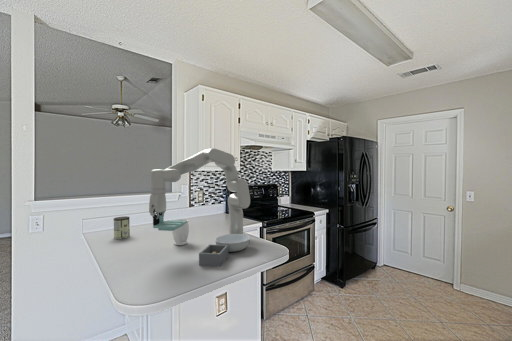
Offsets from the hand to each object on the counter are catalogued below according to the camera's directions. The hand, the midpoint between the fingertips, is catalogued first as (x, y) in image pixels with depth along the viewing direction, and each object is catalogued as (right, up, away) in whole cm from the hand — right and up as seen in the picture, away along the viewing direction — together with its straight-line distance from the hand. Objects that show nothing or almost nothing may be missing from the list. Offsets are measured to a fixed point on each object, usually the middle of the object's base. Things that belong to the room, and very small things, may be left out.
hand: (158, 224), depth 135 cm
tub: (+32, -18, -5) cm, 37 cm away
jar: (+4, -18, +26) cm, 32 cm away
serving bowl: (+40, -18, +13) cm, 45 cm away
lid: (+5, -1, -1) cm, 6 cm away
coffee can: (-44, -19, +44) cm, 65 cm away
